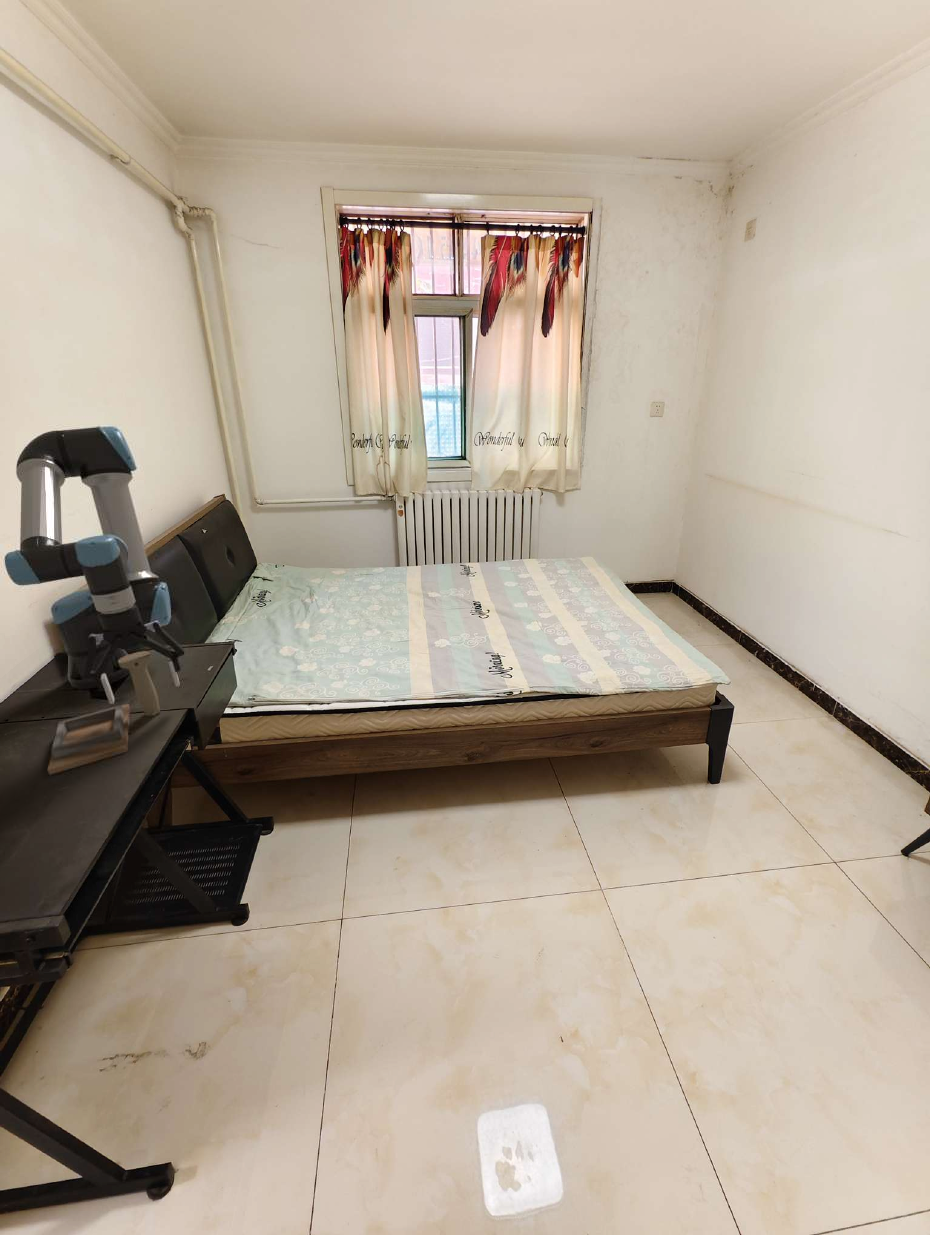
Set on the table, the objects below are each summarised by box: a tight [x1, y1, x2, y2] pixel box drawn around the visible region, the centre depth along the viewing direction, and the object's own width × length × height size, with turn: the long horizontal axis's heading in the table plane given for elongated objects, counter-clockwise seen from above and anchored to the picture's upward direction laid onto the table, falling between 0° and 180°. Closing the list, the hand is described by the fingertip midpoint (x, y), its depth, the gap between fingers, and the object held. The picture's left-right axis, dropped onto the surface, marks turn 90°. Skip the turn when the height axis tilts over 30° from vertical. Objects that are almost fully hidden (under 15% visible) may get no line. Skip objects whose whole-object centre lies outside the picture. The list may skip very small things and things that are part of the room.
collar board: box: [47, 703, 131, 776], centre depth 123 cm, size 20×14×3 cm
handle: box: [118, 650, 161, 717], centre depth 129 cm, size 5×6×15 cm
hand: (145, 692), depth 129 cm, fingers open, 13 cm apart
